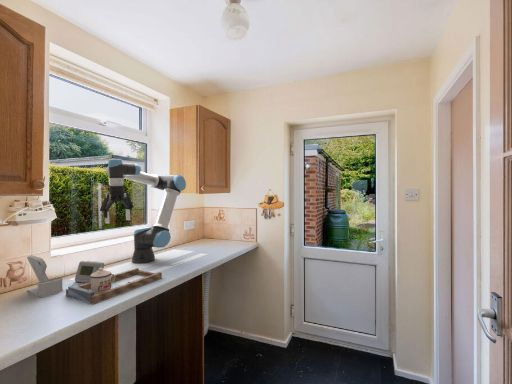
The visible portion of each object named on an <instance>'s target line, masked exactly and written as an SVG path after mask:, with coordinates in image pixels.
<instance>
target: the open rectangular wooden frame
mask: <svg viewBox="0 0 512 384" xmlns="http://www.w3.org/2000/svg"><path fill="white" fill-rule="evenodd" d="M114 275H115V280H114V282H116V281H120V280H123V279H126V278H129V277H132V276H135V275H138V276H143V277H142V278H139V279H136V280H133V281H127V283H124V284H122V285H119V286H116V287H114V288H111V289H110V290H107V291H104V292H101V293H98V294H96V295H94V291H91V282H89V283H82V284H80V285H70V286H68V288H66V289H65V296H66V297H69V298H73V299H75V300H77V301H78V300H79V301H81V302H85V303H88V304H91V305H94V304H96V303H99V302H102V301H104V300H107V299H110V298H113V297H115V296H118V295H120V294H123V293H125V292H129V291H131V290H134V289H136V288H139V287H141V286H145V285H147V284H149V283H152V282H155V281H157V280H160V279H162V278H163V272H160V271H158V272H153V271H152V272H151V271H145V270H140V268H139V267H134V268H132V269H129V270H125V271H121V272H119V273H114ZM112 279H113V276H112V275H111V281H112Z"/></svg>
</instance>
